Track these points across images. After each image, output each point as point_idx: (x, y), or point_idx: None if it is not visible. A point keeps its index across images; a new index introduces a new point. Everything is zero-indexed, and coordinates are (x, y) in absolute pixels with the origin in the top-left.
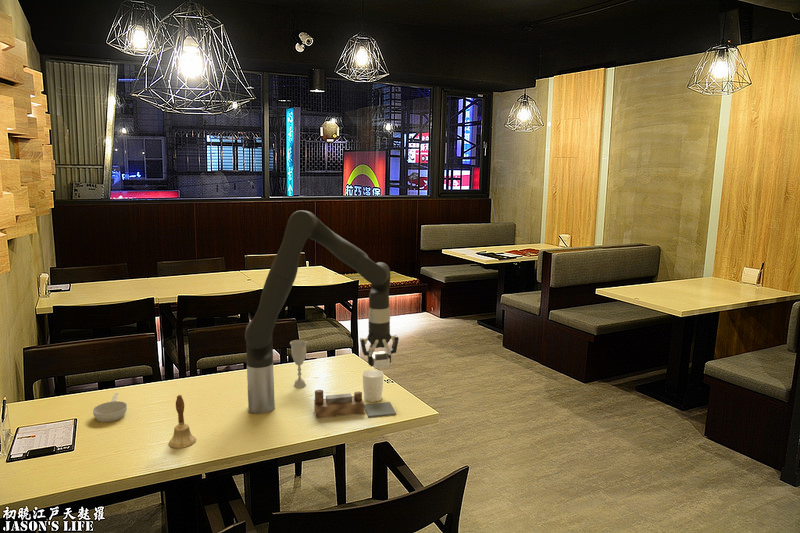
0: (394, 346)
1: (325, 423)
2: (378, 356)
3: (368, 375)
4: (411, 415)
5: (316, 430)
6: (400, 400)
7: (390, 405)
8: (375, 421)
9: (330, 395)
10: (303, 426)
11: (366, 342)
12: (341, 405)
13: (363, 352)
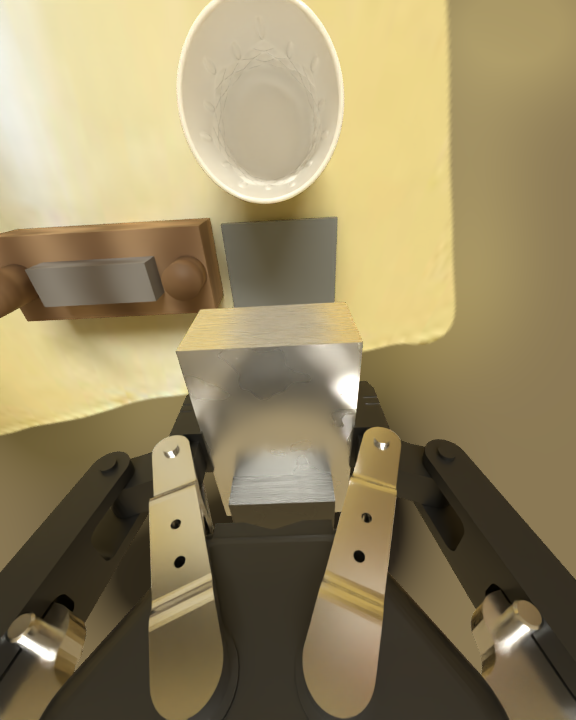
0: (453, 558)
1: (101, 342)
2: None
3: (233, 27)
4: (379, 332)
5: (87, 376)
6: (390, 190)
7: (330, 256)
8: None
9: (48, 271)
10: (36, 349)
11: (77, 652)
12: (126, 315)
13: (108, 527)
